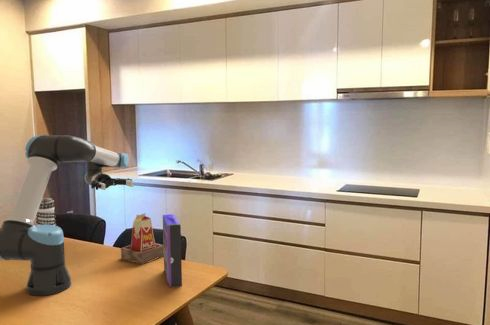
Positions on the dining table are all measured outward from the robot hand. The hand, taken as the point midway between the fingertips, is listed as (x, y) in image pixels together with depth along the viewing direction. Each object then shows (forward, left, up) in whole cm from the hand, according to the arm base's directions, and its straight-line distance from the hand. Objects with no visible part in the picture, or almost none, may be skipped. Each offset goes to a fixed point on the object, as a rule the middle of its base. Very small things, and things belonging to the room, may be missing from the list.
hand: (118, 185), depth 189 cm
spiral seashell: (+13, +36, -32) cm, 50 cm away
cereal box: (-37, -24, -32) cm, 55 cm away
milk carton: (-10, -11, -31) cm, 35 cm away
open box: (-10, -11, -32) cm, 35 cm away
